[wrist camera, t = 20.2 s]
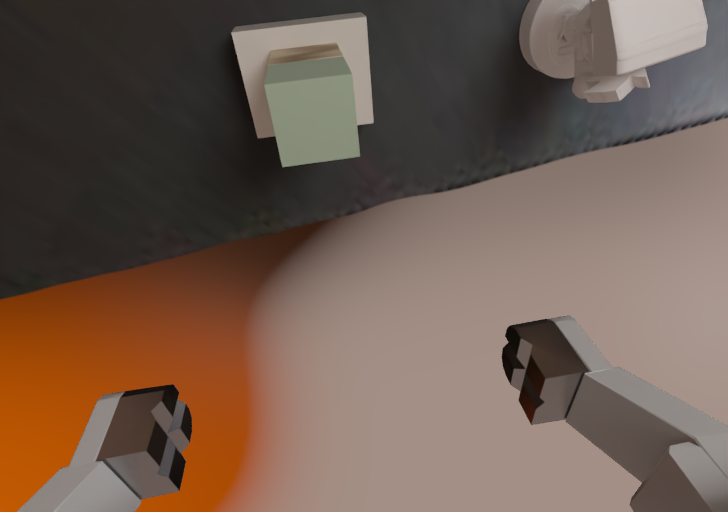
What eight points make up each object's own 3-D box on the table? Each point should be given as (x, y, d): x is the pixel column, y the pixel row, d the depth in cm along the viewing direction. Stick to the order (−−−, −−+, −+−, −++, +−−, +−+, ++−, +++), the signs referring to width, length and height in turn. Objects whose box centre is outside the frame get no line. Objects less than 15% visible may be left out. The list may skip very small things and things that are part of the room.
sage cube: (343, 56, 27) (352, 73, 23) (350, 129, 30) (360, 156, 26) (268, 65, 27) (264, 84, 23) (283, 138, 30) (282, 167, 26)
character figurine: (520, 86, 38) (597, 131, 28) (516, -32, 32) (610, -27, 23) (612, 55, 38) (722, 89, 28) (624, -71, 32) (767, -82, 22)
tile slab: (360, 12, 32) (366, 16, 30) (368, 112, 37) (373, 122, 35) (235, 26, 32) (231, 32, 29) (259, 126, 37) (257, 138, 34)
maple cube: (336, 42, 31) (343, 55, 27) (343, 108, 34) (350, 129, 30) (270, 50, 30) (267, 64, 27) (284, 116, 34) (283, 138, 30)
